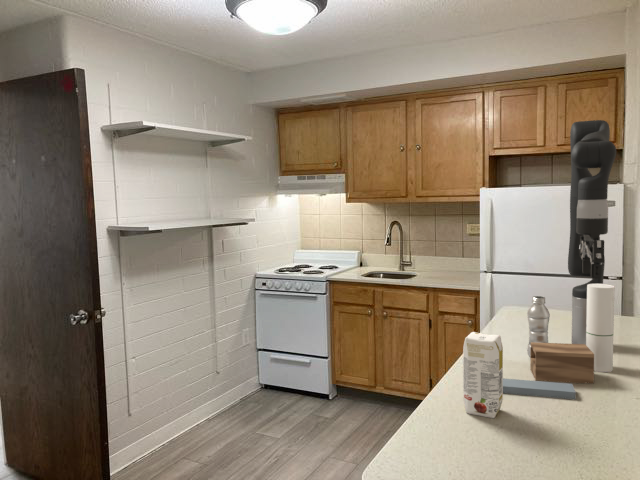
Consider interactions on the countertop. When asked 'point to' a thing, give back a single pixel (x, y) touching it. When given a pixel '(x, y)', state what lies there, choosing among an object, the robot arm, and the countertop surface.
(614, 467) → the countertop surface
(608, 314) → the cylindrical container
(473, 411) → the juice carton
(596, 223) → the robot arm
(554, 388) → the cover plate
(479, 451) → the countertop surface
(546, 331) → the plastic bottle
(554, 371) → the brown box
